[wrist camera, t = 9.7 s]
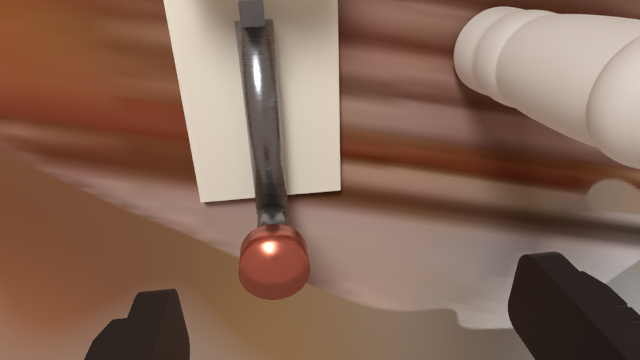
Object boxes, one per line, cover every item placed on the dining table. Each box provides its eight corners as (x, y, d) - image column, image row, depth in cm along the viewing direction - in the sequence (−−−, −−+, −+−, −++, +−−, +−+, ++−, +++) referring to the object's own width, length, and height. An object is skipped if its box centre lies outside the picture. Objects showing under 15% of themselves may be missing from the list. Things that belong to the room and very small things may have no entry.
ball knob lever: (218, 0, 30) (197, 6, 21) (286, -3, 30) (294, 2, 21) (248, 228, 39) (242, 303, 30) (300, 224, 39) (311, 295, 30)
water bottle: (439, 82, 36) (719, 237, 14) (467, -3, 34) (873, 21, 11) (508, 96, 38) (865, 258, 15) (541, 16, 35) (1035, 70, 12)
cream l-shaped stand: (139, -148, 27) (84, -207, 19) (333, -150, 28) (361, -205, 20) (202, 197, 38) (185, 255, 30) (338, 185, 40) (358, 238, 31)
